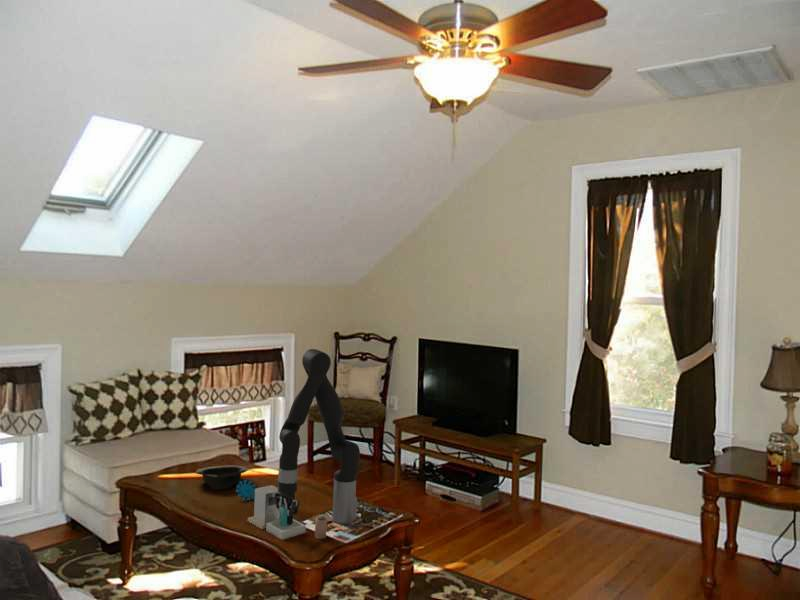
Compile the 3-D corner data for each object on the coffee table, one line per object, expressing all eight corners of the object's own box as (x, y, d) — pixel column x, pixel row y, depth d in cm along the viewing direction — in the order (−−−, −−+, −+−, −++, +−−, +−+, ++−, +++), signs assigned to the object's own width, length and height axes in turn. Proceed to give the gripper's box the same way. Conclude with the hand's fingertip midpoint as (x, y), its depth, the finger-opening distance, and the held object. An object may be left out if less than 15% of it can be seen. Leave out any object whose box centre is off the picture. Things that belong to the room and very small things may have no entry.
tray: (289, 524, 267) (289, 517, 267) (305, 532, 259) (305, 525, 259) (266, 530, 260) (266, 523, 260) (281, 539, 252) (282, 532, 252)
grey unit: (272, 514, 277) (273, 483, 277) (287, 522, 269) (288, 490, 269) (247, 521, 269) (248, 488, 268) (262, 529, 261) (263, 496, 260)
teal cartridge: (287, 521, 262) (287, 502, 262) (293, 524, 259) (294, 505, 259) (277, 524, 259) (278, 504, 259) (284, 527, 256) (285, 507, 256)
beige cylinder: (321, 533, 260) (322, 514, 259) (328, 537, 257) (329, 517, 256) (312, 536, 257) (313, 516, 256) (319, 539, 253) (320, 519, 253)
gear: (238, 499, 289) (235, 479, 295) (233, 506, 292) (230, 485, 298) (262, 499, 295) (258, 479, 301) (256, 505, 298) (253, 485, 304)
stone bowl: (221, 496, 297) (221, 475, 297) (184, 488, 310) (183, 469, 310) (260, 481, 318) (259, 462, 318) (223, 475, 331) (223, 457, 331)
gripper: (269, 476, 261) (267, 519, 262) (290, 486, 251) (288, 530, 252) (285, 473, 266) (283, 515, 267) (306, 482, 256) (304, 525, 257)
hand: (285, 522), depth 259 cm, fingers closed on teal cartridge, 4 cm apart
